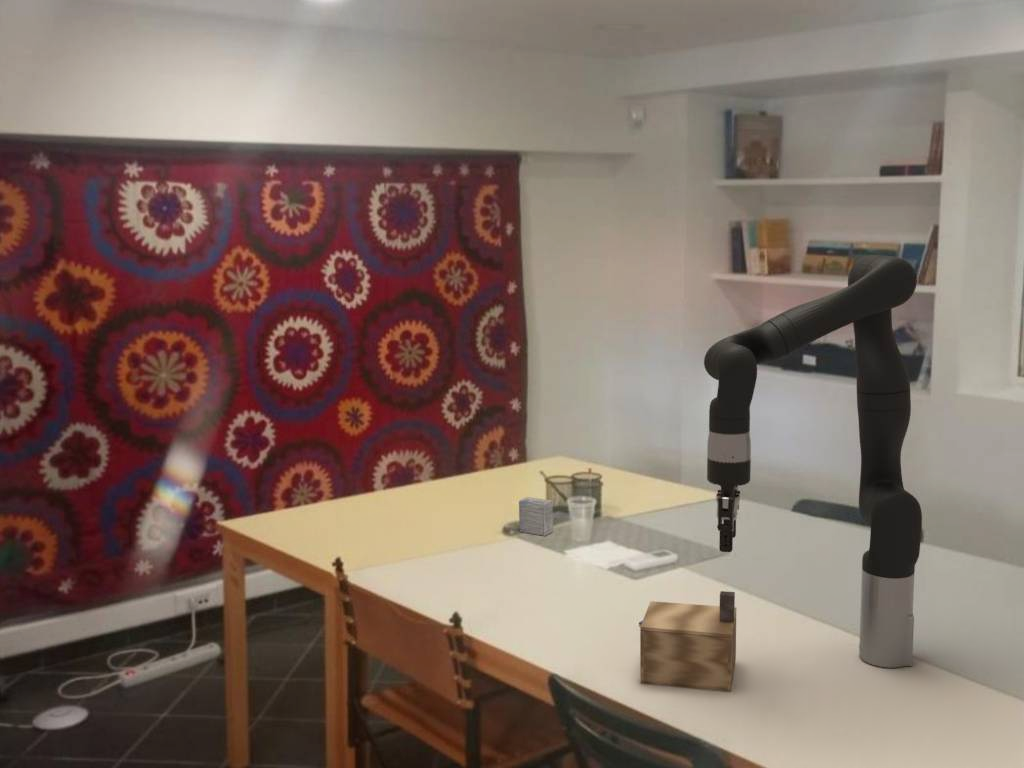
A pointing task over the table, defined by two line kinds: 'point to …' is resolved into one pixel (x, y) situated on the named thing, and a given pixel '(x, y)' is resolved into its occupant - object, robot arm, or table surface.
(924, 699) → the table surface
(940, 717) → the table surface
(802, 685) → the table surface
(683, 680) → the wooden box
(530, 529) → the medicine box
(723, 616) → the lid flap
